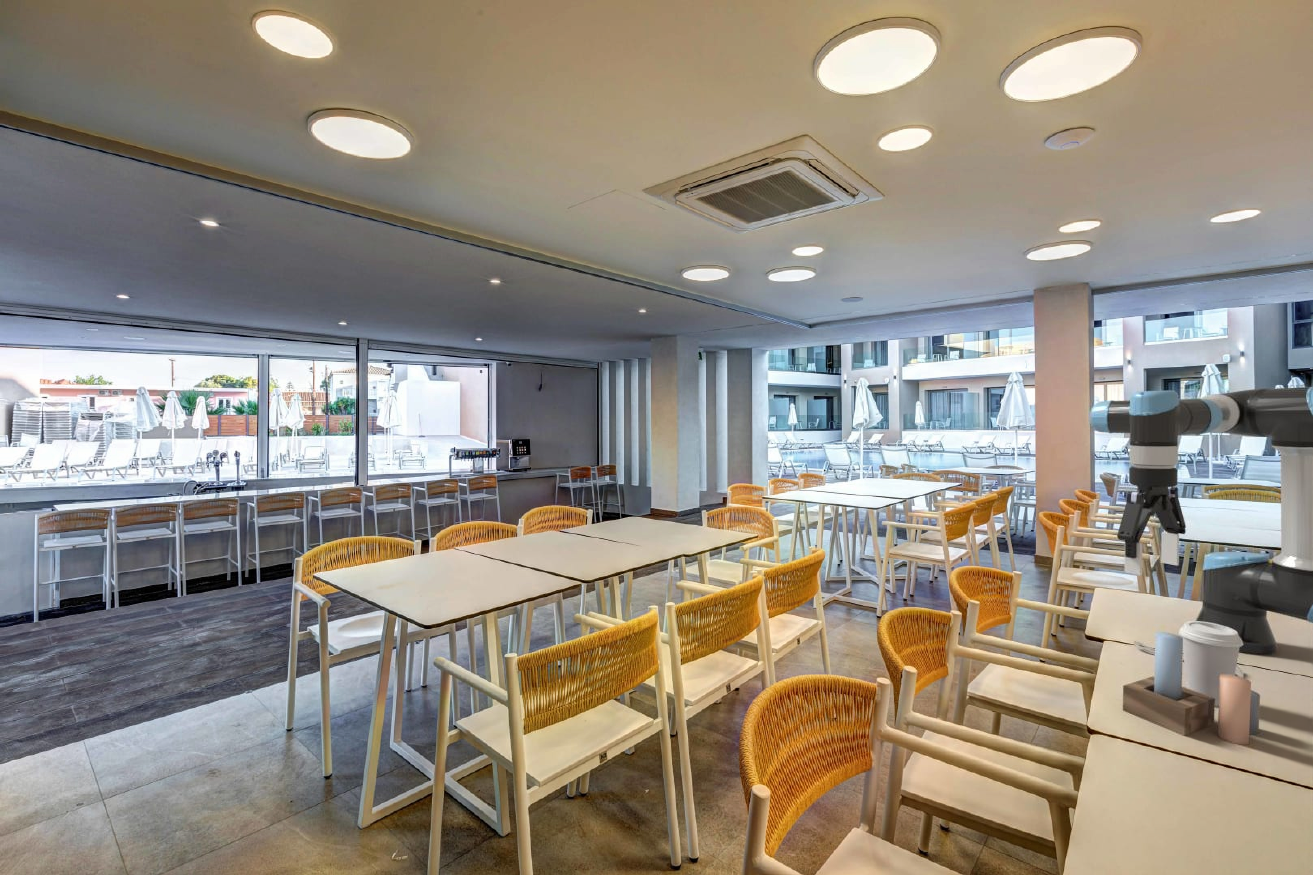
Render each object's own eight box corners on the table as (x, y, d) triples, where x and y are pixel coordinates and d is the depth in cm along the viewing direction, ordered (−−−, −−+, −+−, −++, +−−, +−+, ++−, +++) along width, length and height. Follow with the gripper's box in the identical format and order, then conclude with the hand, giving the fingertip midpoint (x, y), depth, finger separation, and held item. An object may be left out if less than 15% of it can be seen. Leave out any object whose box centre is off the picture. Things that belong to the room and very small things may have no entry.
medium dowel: (1224, 730, 108) (1226, 672, 107) (1253, 741, 104) (1255, 681, 104) (1213, 735, 106) (1215, 676, 106) (1242, 746, 102) (1244, 685, 102)
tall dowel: (1160, 709, 115) (1162, 630, 115) (1185, 719, 111) (1187, 637, 111) (1149, 713, 114) (1150, 634, 113) (1173, 723, 110) (1175, 641, 109)
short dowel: (1234, 720, 111) (1235, 685, 111) (1263, 731, 107) (1264, 694, 107) (1223, 725, 109) (1225, 689, 109) (1252, 736, 106) (1253, 698, 105)
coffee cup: (1254, 713, 114) (1257, 638, 113) (1197, 708, 115) (1200, 635, 115) (1217, 690, 123) (1220, 620, 122) (1166, 686, 125) (1168, 618, 124)
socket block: (1152, 699, 119) (1152, 676, 119) (1214, 723, 110) (1214, 698, 110) (1122, 710, 115) (1123, 685, 115) (1184, 735, 106) (1185, 709, 106)
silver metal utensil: (1130, 635, 144) (1137, 631, 146) (1129, 649, 144) (1135, 644, 147) (1243, 669, 127) (1248, 663, 130) (1241, 684, 128) (1246, 678, 130)
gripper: (1164, 460, 127) (1163, 556, 128) (1096, 469, 116) (1095, 572, 117) (1207, 463, 120) (1206, 564, 121) (1140, 472, 109) (1139, 582, 111)
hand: (1152, 568), depth 119 cm, fingers open, 13 cm apart
